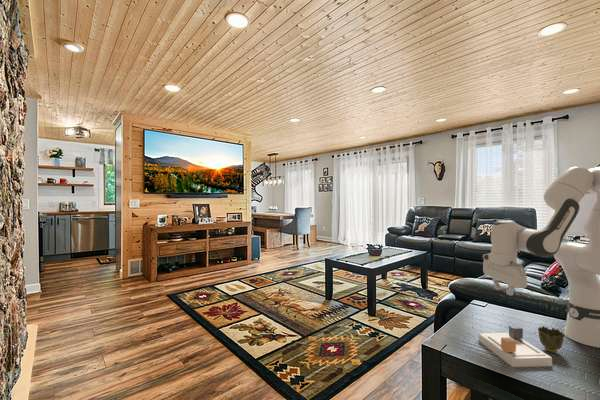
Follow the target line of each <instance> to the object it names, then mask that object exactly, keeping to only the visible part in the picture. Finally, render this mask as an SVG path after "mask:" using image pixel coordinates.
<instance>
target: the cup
mask: <svg viewBox="0 0 600 400" xmlns="http://www.w3.org/2000/svg"><path fill="white" fill-rule="evenodd" d="M537 331H538V336H539V337H538V338H539V340H540V343H541V345H542V346H544V348H543V349H544V350H545V352H548V353H551V354H557V353H558V350H560V349H561V348H562V347H563V344H564V337H565V335H564V332H563V331H560V330H559V329H555V328H553V327H552V328H548V326H543V325H542V326H539V327H537Z"/></svg>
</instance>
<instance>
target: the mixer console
mask: <svg viewBox="0 0 600 400" xmlns="http://www.w3.org/2000/svg"><path fill="white" fill-rule="evenodd" d="M501 338H512V337H510V336H509V332H483V333H480V332H479V333H478V342H479V343H481V344H482V345H484V346H485V348H487V349H489V350H490V351H492V353H493V354H495V355H497V356H498V357H499V358H500V359H502V360H503V361H504V362H505V363H506V364H508V365H510V367H511V368H529V367H533V368H534V367H535V368H536V367H552V366H553V357H552V356H550V355H548V354H547V353H545V352H544V351H542V350H540V349H539V348H538V347H536V346H534V345H533V344H531V343H529V342H528V341H526V340H525V339H514V340H515V341H516V352H505V351H504V350H502V349H501ZM512 339H513V338H512Z"/></svg>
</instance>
